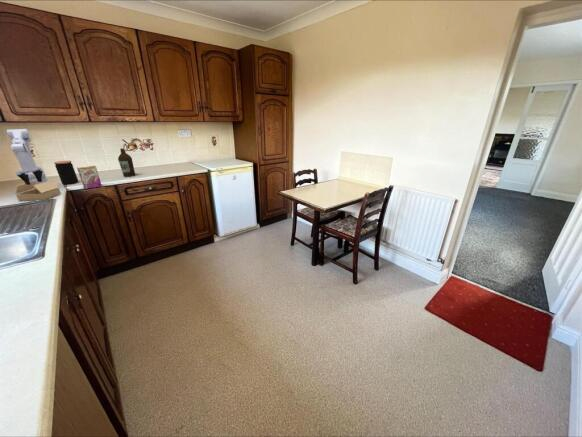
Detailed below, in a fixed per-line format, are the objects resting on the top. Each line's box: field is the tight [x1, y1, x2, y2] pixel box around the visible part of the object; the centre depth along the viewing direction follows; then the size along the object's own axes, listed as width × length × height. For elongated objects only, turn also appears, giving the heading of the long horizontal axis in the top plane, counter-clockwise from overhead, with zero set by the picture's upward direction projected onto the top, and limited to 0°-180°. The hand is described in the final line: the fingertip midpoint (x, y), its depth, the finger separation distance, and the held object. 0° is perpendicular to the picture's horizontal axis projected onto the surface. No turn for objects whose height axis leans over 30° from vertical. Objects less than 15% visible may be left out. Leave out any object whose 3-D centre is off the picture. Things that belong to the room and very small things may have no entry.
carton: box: [15, 187, 62, 202], centre depth 167 cm, size 14×16×4 cm
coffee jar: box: [53, 160, 79, 186], centre depth 200 cm, size 11×11×18 cm
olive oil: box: [117, 147, 136, 178], centre depth 222 cm, size 11×11×25 cm
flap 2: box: [34, 180, 59, 193], centre depth 165 cm, size 13×6×1 cm
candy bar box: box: [76, 164, 103, 190], centre depth 188 cm, size 11×5×16 cm, turn 141°
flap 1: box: [15, 181, 36, 195], centre depth 165 cm, size 13×6×1 cm
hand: (34, 183), depth 163 cm, fingers open, 7 cm apart
